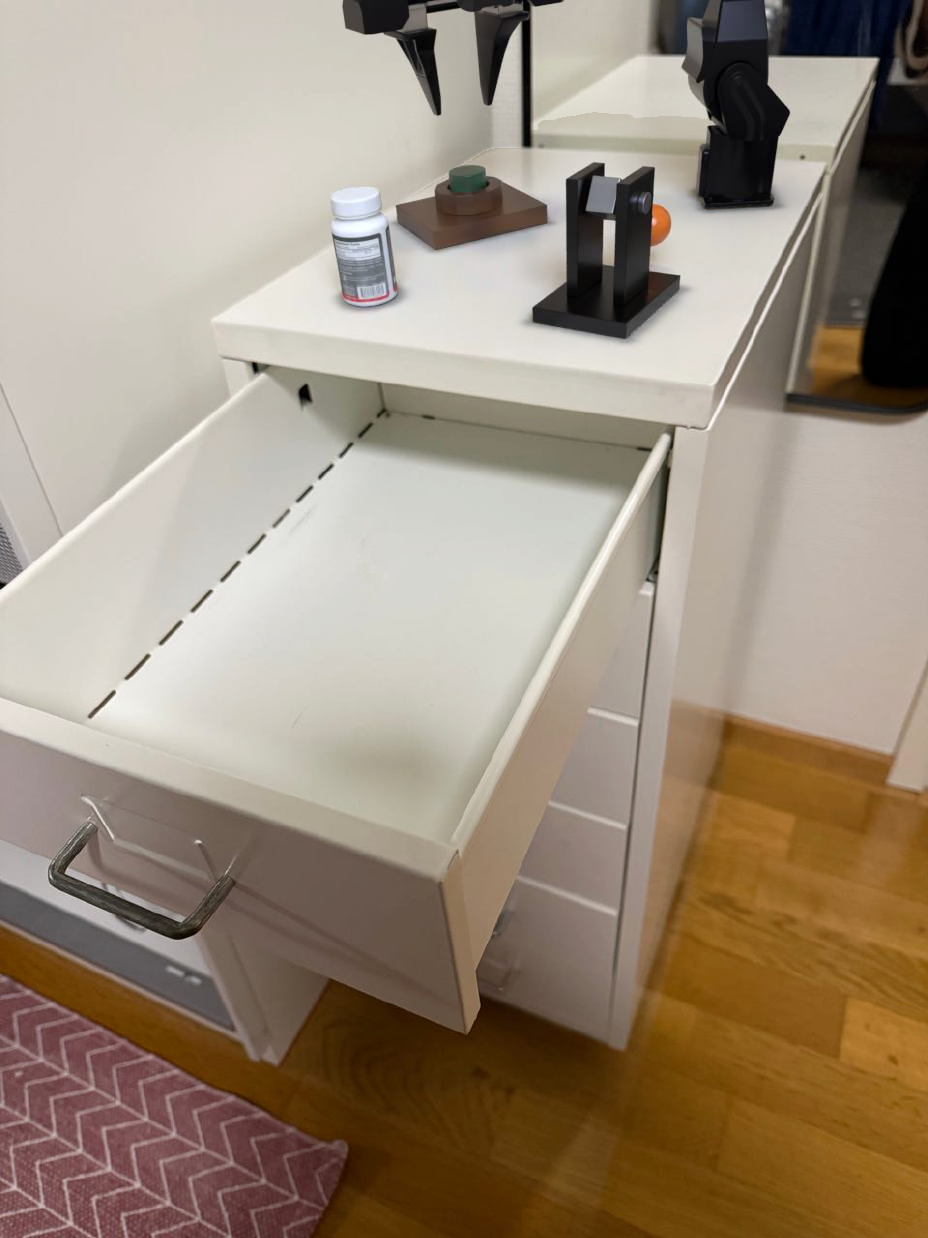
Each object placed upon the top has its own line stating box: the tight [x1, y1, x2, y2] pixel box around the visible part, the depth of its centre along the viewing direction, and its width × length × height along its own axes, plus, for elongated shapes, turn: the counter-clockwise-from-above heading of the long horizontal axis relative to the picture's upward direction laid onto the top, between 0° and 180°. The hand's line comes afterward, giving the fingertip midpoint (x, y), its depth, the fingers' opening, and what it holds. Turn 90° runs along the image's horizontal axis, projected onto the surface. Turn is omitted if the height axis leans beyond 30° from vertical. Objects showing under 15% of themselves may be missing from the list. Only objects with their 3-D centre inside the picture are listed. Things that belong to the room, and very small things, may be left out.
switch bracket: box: [531, 161, 681, 339], centre depth 67 cm, size 10×8×10 cm
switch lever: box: [586, 176, 672, 247], centre depth 68 cm, size 12×3×3 cm, turn 147°
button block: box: [395, 175, 548, 250], centre depth 87 cm, size 12×10×4 cm
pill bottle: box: [329, 186, 399, 308], centre depth 73 cm, size 5×5×8 cm
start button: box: [448, 164, 487, 192], centre depth 85 cm, size 4×4×2 cm
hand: (462, 109), depth 81 cm, fingers open, 5 cm apart
